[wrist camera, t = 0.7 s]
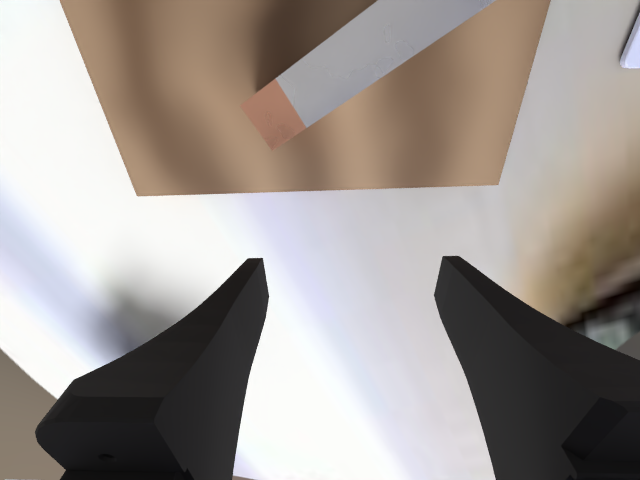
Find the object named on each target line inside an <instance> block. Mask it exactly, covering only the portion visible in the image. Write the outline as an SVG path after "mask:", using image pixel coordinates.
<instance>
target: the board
mask: <svg viewBox="0 0 640 480" xmlns="http://www.w3.org/2000/svg"><path fill="white" fill-rule="evenodd" d="M376 1H378V0H60V3H61V5H62V8H63V10H64V13H65V15H66V18H67V20H68V23H69V25H70V28H71V30H72V33H73V36H74V38H75V41H76V43H77V46H78V48H79V51H80V53H81V56H82V58H83V61H84V63H85V66H86V68H87V71H88V73H89V76H90V78H91V81H92V84H93V86H94V89H95V91H96V94H97V96H98V99H99V101H100V104H101V106H102V109H103V111H104V114H105V116H106V119H107V121H108V124H109V126H110V129H111V132H112V134H113V137H114V139H115V142H116V144H117V147H118V149H119V152H120V154H121V157H122V159H123V162H124V164H125V167H126V169H127V172H128V174H129V177H130V180H131V182H132V185H133V187H134V190H135V192H136V195H137V196H163V195H195V194H227V193H259V192H290V191H322V190H354V189H386V188H418V187H450V186H481V185H498V184H499V180H500V177H501V173H502V170H503V166H504V163H505V159H506V156H507V152H508V149H509V145H510V142H511V138H512V135H513V131H514V128H515V124H516V120H517V117H518V113H519V110H520V106H521V103H522V99H523V96H524V92H525V89H526V85H527V82H528V78H529V75H530V71H531V68H532V64H533V61H534V57H535V54H536V50H537V47H538V43H539V40H540V36H541V32H542V29H543V25H544V22H545V18H546V15H547V11H548V8H549V4H550V1H551V0H496V1H494V2H493V3H491V4H490V5H489V6H487V7H486V8H484V9H483V10H481V11H480V12H478V13H477V14H475V15H474V16H472V17H471V18H469V19H468V20H466V21H465V22H463V23H462V24H460V25H459V26H457V27H456V28H454V29H453V30H451V31H450V32H448V33H447V34H445V35H444V36H442V37H441V38H440V39H438V40H437V41H435V42H434V43H432V44H431V45H429V46H428V47H426V48H425V49H423V50H422V51H420V52H419V53H417V54H416V55H414V56H413V57H411V58H410V59H408V60H407V61H405V62H404V63H402V64H401V65H399V66H398V67H396V68H395V69H394V70H392V71H391V72H389V73H388V74H386V75H385V76H383V77H382V78H380V79H379V80H377V81H376V82H374V83H373V84H371V85H370V86H368V87H367V88H365V89H364V90H362V91H361V92H359V93H358V94H356V95H355V96H353V97H352V98H350V99H349V100H347V101H346V102H345V103H343V104H342V105H340V106H339V107H337V108H336V109H334V110H333V111H331V112H330V113H328V114H327V115H325V116H324V117H322V118H321V119H319V120H318V121H316V122H315V123H313V124H312V125H310V126H309V127H307V128H306V129H304V130H303V131H301V132H300V133H299V134H297V135H296V136H294V137H293V138H291V139H290V140H288V141H287V142H285V143H284V144H282V145H281V146H279V147H278V148H276V149H275V150H273V151H272V150H271V149H270V147H269V146H268V144H267V143H266V142H265V140H264V139H263V137H262V136H261V135H260V133H259V132H258V130H257V129H256V128H255V126H254V125H253V123H252V122H251V120H250V119H249V118H248V116H247V115H246V113H245V112H244V111H243V109H242V108H241V106H240V105H241V104H243V103H244V102H245V101H247V100H248V99H249V98H251V97H252V96H253V95H254V94H256V93H257V92H258V91H260V90H261V89H262V88H264V87H265V86H266V85H268V84H269V83H270V82H271V81H273V80H274V79H275V78H277V77H278V76H279V75H281V74H282V73H283V72H285V71H286V70H287V69H289V68H290V67H291V66H292V65H294V64H295V63H296V62H298V61H299V60H300V59H302V58H303V57H304V56H306V55H307V54H308V53H309V52H311V51H312V50H313V49H315V48H316V47H317V46H319V45H320V44H321V43H323V42H324V41H325V40H327V39H328V38H329V37H330V36H332V35H333V34H334V33H336V32H337V31H338V30H340V29H341V28H342V27H344V26H345V25H346V24H347V23H349V22H350V21H351V20H353V19H354V18H355V17H357V16H358V15H359V14H361V13H362V12H363V11H365V10H366V9H367V8H368V7H370V6H371V5H372V4H374V3H375V2H376Z"/></svg>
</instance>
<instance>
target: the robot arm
mask: <svg viewBox="0 0 640 480" xmlns="http://www.w3.org/2000/svg"><path fill="white" fill-rule="evenodd" d="M620 64H621V66H622V67H623V68H640V13H639V15H638V18H637V20H636V23H635V25H634V28H633V30H632V32H631V35H630V37H629V40H628V42H627V44H626V47H625V49H624V52H623V54H622V56H621V60H620ZM434 297H435V301H436V304H437V308H438V311H439V315H440V318H441V320H442V323H443V325H444V327H445V330H446V332H447V334H448V337H449V339H450V341H451V343H452V346H453V348H454V350H455V352H456V355H457V357H458V359H459V361H460V364H461V366H462V368H463V371H464V373H465V376H466V378H467V381H468V384H469V387H470V390H471V393H472V396H473V399H474V403H475V406H476V409H477V412H478V416H479V419H480V422H481V426H482V429H483V432H484V436H485V440H486V443H487V447H488V451H489V455H490V458H491V462H492V466H493V470H494V474H495V478H496V480H640V360H637V359H635V358H633V357H630V356H628V355H625V354H623V353H621V352H618V351H616V350H614V349H611V348H609V347H607V346H605V345H602V344H600V343H598V342H596V341H594V340H592V339H590V338H588V337H586V336H584V335H581V334H579V333H577V332H575V331H573V330H571V329H569V328H567V327H566V326H564V325H562V324H560V323H558V322H556V321H555V320H553V319H551V318H549V317H547V316H546V315H544V314H542V313H540V312H539V311H537V310H535V309H534V308H532V307H530V306H529V305H527V304H526V303H524V302H523V301H521V300H520V299H518V298H517V297H515V296H513V295H512V294H511V293H509V292H508V291H506V290H505V289H503V288H502V287H500V286H499V285H498V284H496V283H495V282H493V281H492V280H491V279H489V278H488V277H487V276H485V275H484V274H483V273H481V272H480V271H479V270H477V269H476V268H475V267H473V266H472V265H471V264H469V263H468V262H467V261H465V260H464V259H462V258H461V257H459V256H443V257H442V262H441V266H440V271H439V275H438V280H437V284H436V289H435V293H434ZM268 299H269V293H268V287H267V281H266V275H265V269H264V263H263V258H248V259H247V260H246V261H245V262H244V263H243V264H242V265H241V266H240V267H239V268H238V269H237V270H236V271H235V272H234V273H233V274H232V275H231V276H230V277H229V278H228V279H227V280H226V281H225V282H224V283H223V284H222V285H221V286H220V287H219V288H218V289H217V290H216V291H215V292H214V293H213V294H212V295H211V296H209V297H208V298H207V299H206V300H205V301H204V302H203V303H202V304H200V305H199V306H198V307H197V308H196V309H194V310H193V311H192V312H191V313H189V314H188V315H187V316H185V317H184V318H183V319H181V320H180V321H179V322H177V323H176V324H174V325H173V326H171V327H170V328H168V329H167V330H165V331H164V332H162V333H161V334H159V335H158V336H156V337H155V338H153V339H152V340H150V341H148V342H147V343H145V344H143V345H142V346H140V347H138V348H136V349H135V350H133V351H131V352H129V353H127V354H126V355H124V356H122V357H120V358H118V359H116V360H114V361H112V362H110V363H108V364H106V365H104V366H102V367H100V368H98V369H96V370H94V371H92V372H90V373H87V374H85V375H83V376H81V377H79V378H77V379H75V380H73V381H72V383H71V384H70V385H69V386H68V388H67V389H66V390H65V391H64V393H63V394H62V395H61V396H60V398H59V399H58V400H57V402H56V403H55V404H54V405H53V407H52V408H51V409H50V410H49V412H48V413H47V414H46V416H45V417H44V418H43V419H42V421H41V422H40V423H39V425H38V426H37V428H36V431H35V434H36V438H37V442H38V443H39V444H40V446H41V447H42V448H43V449H44V450H45V451H46V452H47V453H48V454H49V455H50V456H51V457H53V458H54V459H55V460H56V461H57V462H58V463H59V464H60V465H61V466H62V467H64V469H66V471H65V473H64V474H63V476H62V477H61V479H60V480H232V476H233V468H234V461H235V454H236V448H237V441H238V435H239V428H240V423H241V417H242V411H243V405H244V399H245V394H246V389H247V383H248V378H249V374H250V370H251V366H252V363H253V360H254V356H255V353H256V349H257V346H258V343H259V339H260V336H261V332H262V329H263V325H264V322H265V318H266V312H267V306H268ZM5 480H16V479H5ZM17 480H18V479H17ZM20 480H21V479H20Z"/></svg>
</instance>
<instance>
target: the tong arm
mask: <svg viewBox="0 0 640 480" xmlns="http://www.w3.org/2000/svg"><path fill="white" fill-rule="evenodd" d="M494 1H496V0H378V1H376V2H375V3H374V4H372V5H371V6H370V7H368V8H367V9H366V10H365V11H363V12H362V13H361V14H359V15H358V16H357V17H355V18H354V19H353V20H351V21H350V22H349V23H347V24H346V25H345V26H344V27H342V28H341V29H340V30H338V31H337V32H336V33H334V34H333V35H332V36H330V37H329V38H328V39H327V40H325V41H324V42H323V43H321V44H320V45H319V46H317V47H316V48H315V49H313V50H312V51H311V52H309V53H308V54H307V55H306V56H304V57H303V58H302V59H300V60H299V61H298V62H296V63H295V64H294V65H292V66H291V67H290V68H289V69H287V70H286V71H285V72H283V73H282V74H281V75H279V76H278V77H277V78H275V79H274V80H273V81H271V82H270V83H269V84H268V85H266V86H265V87H264V88H262V89H261V90H260V91H258V92H257V93H256V94H254V95H253V96H252V97H251V98H249V99H248V100H247V101H245V102H244V103H243V104H241V105H240V106H241V108H242V109H243V111H244V112H245V113H246V115H247V116H248V118H249V119H250V120H251V122H252V123H253V125H254V126H255V128H256V129H257V130H258V132H259V133H260V135H261V136H262V137H263V139H264V140H265V142H266V143H267V144H268V146H269V147H270V149H271V150H272V151H273V150H275V149H276V148H278V147H279V146H281V145H282V144H284V143H285V142H287V141H288V140H290V139H291V138H293V137H294V136H296V135H297V134H299V133H300V132H301V131H303V130H304V129H306V128H307V127H309V126H310V125H312V124H313V123H315V122H316V121H318V120H319V119H321V118H322V117H324V116H325V115H327V114H328V113H330V112H331V111H333V110H334V109H336V108H337V107H339V106H340V105H342V104H343V103H345V102H346V101H347V100H349V99H350V98H352V97H353V96H355V95H356V94H358V93H359V92H361V91H362V90H364V89H365V88H367V87H368V86H370V85H371V84H373V83H374V82H376V81H377V80H379V79H380V78H382V77H383V76H385V75H386V74H388V73H389V72H391V71H392V70H394V69H395V68H396V67H398V66H399V65H401V64H402V63H404V62H405V61H407V60H408V59H410V58H411V57H413V56H414V55H416V54H417V53H419V52H420V51H422V50H423V49H425V48H426V47H428V46H429V45H431V44H432V43H434V42H435V41H437V40H438V39H440V38H441V37H442V36H444V35H445V34H447V33H448V32H450V31H451V30H453V29H454V28H456V27H457V26H459V25H460V24H462V23H463V22H465V21H466V20H468V19H469V18H471V17H472V16H474V15H475V14H477V13H478V12H480V11H481V10H483V9H484V8H486V7H487V6H489V5H490V4H491V3H493V2H494Z"/></svg>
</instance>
